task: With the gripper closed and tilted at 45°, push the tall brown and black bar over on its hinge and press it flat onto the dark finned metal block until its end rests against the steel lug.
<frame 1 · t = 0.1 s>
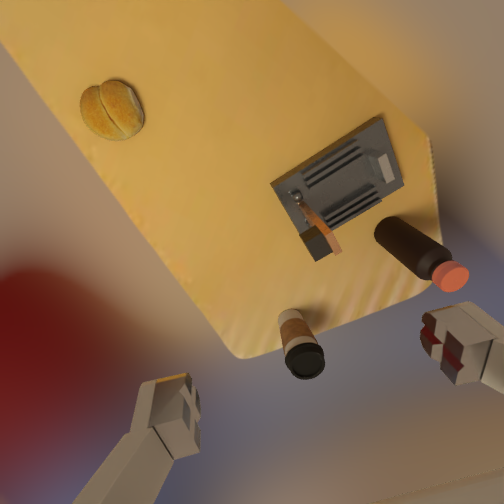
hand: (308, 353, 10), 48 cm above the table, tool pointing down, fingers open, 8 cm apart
coffee cup: (289, 317, 73), on the table
brown and black bar: (309, 229, 50), point 11 cm above the table, hinge at 0.0°
bottle: (387, 230, 65), on the table
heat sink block: (299, 204, 59), on the table
bread roll: (115, 111, 48), on the table
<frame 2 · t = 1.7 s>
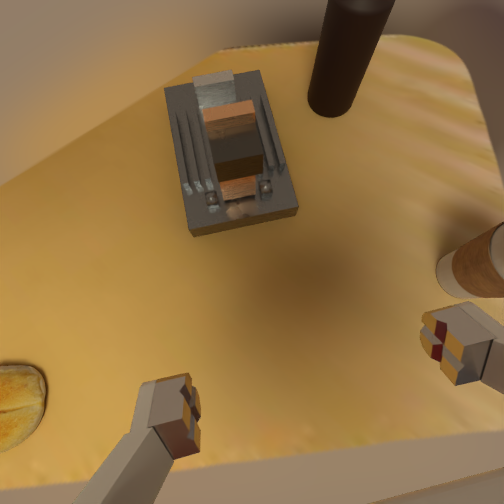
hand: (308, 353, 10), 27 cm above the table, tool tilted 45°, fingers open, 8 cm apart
coffee cup: (458, 275, 38), on the table
brown and black bar: (238, 175, 30), point 11 cm above the table, hinge at 0.0°
bottle: (329, 100, 45), on the table
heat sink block: (240, 206, 40), on the table
bread roll: (14, 402, 35), on the table
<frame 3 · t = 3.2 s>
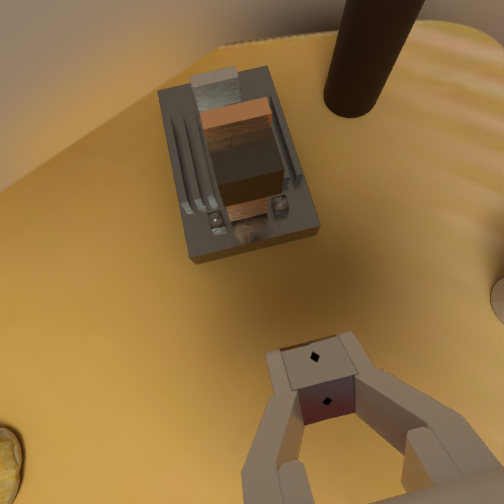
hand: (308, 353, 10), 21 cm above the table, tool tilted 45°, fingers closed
brown and black bar: (248, 194, 23), point 11 cm above the table, hinge at 0.0°
bottle: (348, 98, 39), on the table
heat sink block: (249, 225, 34), on the table
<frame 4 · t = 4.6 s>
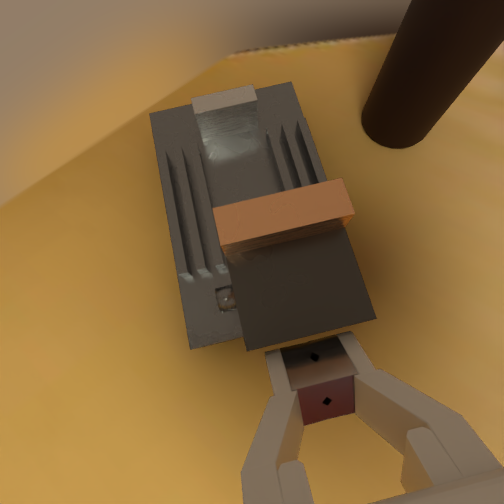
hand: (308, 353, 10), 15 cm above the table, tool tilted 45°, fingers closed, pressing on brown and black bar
brown and black bar: (281, 294, 15), point 11 cm above the table, hinge at 0.1°, touching gripper
bottle: (393, 123, 30), on the table
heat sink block: (269, 293, 26), on the table
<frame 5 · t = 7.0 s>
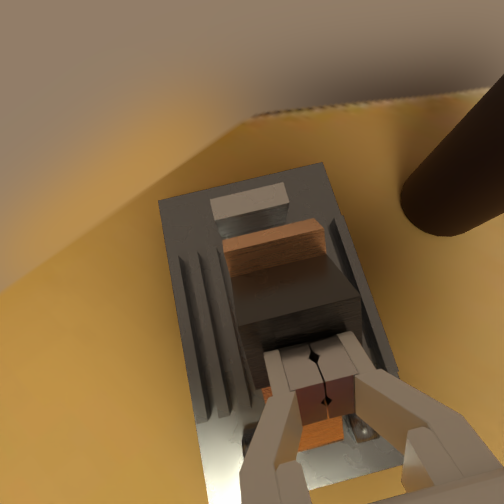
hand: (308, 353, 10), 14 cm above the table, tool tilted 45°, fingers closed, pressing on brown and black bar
brown and black bar: (303, 386, 14), point 10 cm above the table, hinge at 47.3°, touching gripper
bottle: (436, 203, 27), on the table
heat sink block: (301, 421, 22), on the table
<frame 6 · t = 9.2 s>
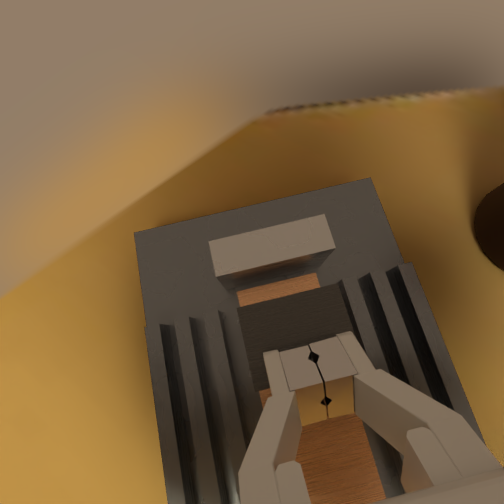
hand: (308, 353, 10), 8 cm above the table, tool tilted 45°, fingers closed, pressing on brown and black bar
brown and black bar: (325, 458, 11), point 5 cm above the table, hinge at 91.2°, touching gripper, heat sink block
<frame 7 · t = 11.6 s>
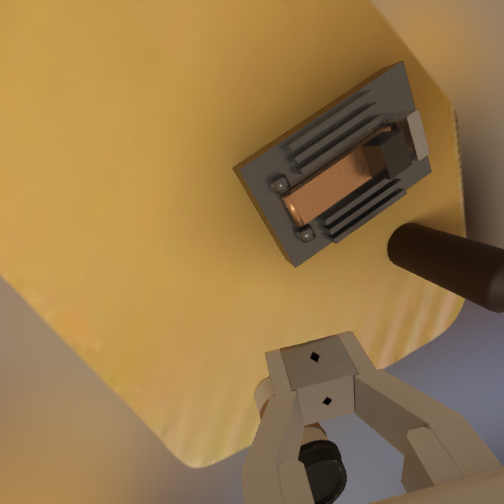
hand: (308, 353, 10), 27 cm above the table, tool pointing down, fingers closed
coffee cup: (271, 389, 47), on the table
brown and black bar: (349, 178, 33), point 5 cm above the table, hinge at 90.7°
bottle: (403, 243, 45), on the table
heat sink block: (280, 204, 37), on the table
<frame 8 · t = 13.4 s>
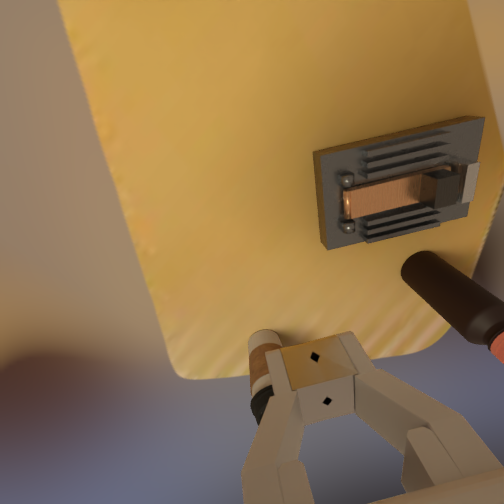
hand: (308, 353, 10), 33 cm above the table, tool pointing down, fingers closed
coffee cup: (263, 340, 55), on the table
brown and black bar: (401, 195, 39), point 5 cm above the table, hinge at 90.7°
bottle: (417, 266, 52), on the table
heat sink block: (336, 195, 43), on the table
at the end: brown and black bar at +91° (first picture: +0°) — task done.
